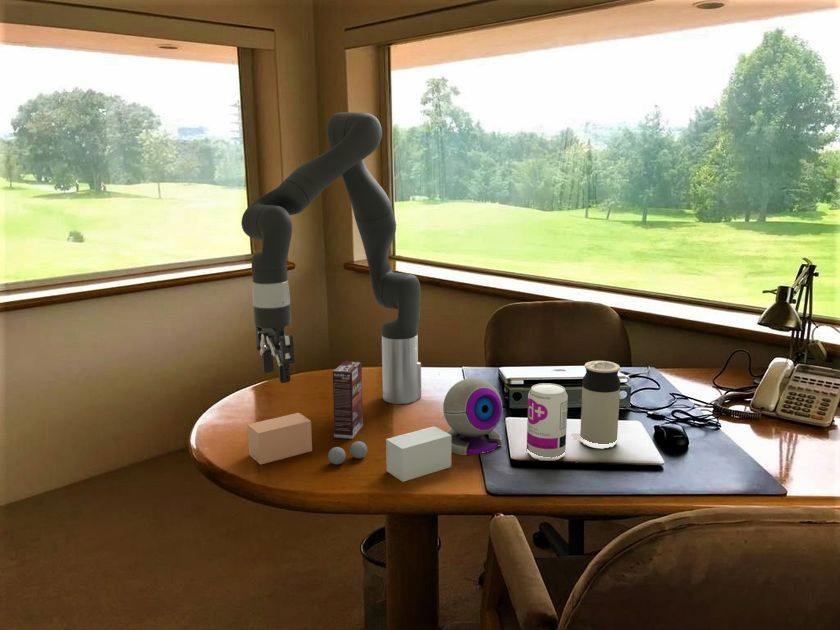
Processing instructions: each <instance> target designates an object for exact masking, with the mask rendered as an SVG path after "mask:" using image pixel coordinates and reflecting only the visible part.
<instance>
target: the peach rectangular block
mask: <svg viewBox="0 0 840 630" xmlns="http://www.w3.org/2000/svg"><path fill="white" fill-rule="evenodd" d="M246 426H247V437H248V452H249V453H248V455H249V456H250V457H251V458H252V459H253V460H255V462H257V463H258V464H259V465H263V464H267V463H271V462H275V461H276V462H277V461H279V460H283V459H286V458H290V457H295V456H298V455H302V454H305V453H310V452H313V441H312V420H310V419H309V418H307V417H306V416H305V415H303V414H302V413H301V412H295V413H291V414H287V415H283V416H278V417H274V418H270V419H269V418H268V419H264V420H261V421H257V422H253V423H247V425H246Z"/></svg>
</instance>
